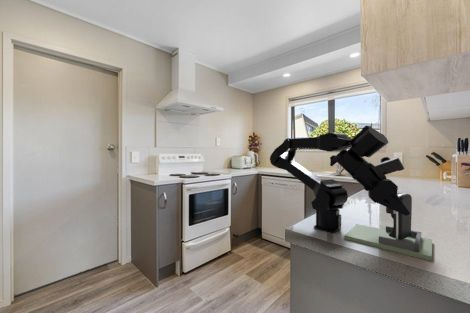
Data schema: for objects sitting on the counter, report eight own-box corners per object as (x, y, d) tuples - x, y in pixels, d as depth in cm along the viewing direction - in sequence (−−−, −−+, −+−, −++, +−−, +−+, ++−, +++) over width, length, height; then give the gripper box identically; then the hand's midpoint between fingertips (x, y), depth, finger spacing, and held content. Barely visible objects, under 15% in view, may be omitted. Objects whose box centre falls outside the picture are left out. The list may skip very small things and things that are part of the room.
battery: (395, 231, 60) (395, 191, 60) (411, 236, 57) (412, 193, 57) (383, 236, 56) (384, 193, 56) (400, 241, 53) (401, 195, 53)
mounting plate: (344, 238, 60) (344, 229, 60) (356, 227, 69) (356, 219, 69) (431, 261, 47) (431, 249, 47) (432, 243, 57) (432, 233, 57)
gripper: (387, 146, 50) (450, 198, 45) (377, 147, 66) (423, 186, 61) (348, 177, 54) (402, 229, 49) (348, 171, 70) (388, 209, 65)
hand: (404, 210), depth 56 cm, fingers closed on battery, 7 cm apart
